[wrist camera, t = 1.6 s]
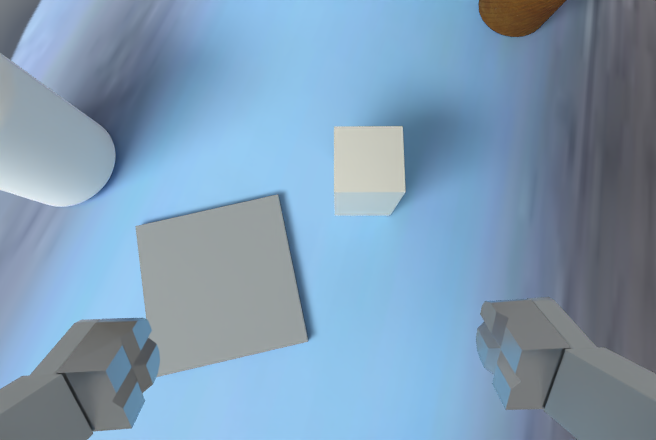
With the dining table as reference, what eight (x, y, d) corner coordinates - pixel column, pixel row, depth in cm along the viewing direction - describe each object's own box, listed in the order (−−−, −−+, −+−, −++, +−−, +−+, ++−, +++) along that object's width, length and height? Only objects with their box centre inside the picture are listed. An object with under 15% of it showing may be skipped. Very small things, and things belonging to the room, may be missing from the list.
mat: (308, 340, 28) (307, 341, 28) (157, 376, 28) (153, 377, 27) (278, 196, 31) (277, 194, 30) (139, 227, 30) (135, 226, 30)
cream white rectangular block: (389, 215, 30) (405, 192, 23) (334, 215, 30) (334, 192, 23) (388, 163, 31) (402, 126, 24) (334, 163, 31) (334, 126, 24)
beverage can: (87, 104, 33) (-51, -2, 21) (138, 167, 32) (20, 91, 20) (11, 160, 32) (-177, 82, 20) (60, 227, 31) (-111, 185, 19)
